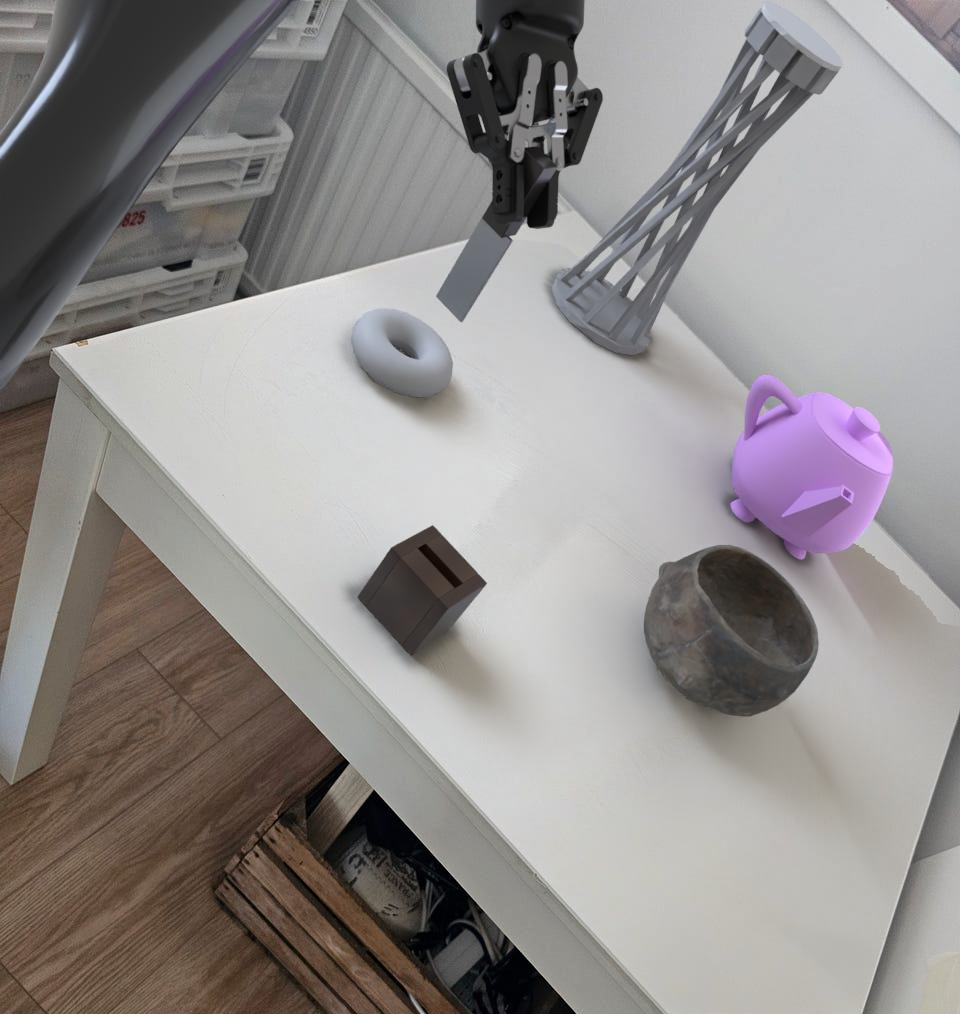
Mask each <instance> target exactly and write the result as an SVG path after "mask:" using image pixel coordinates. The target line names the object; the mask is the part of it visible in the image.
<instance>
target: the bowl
mask: <svg viewBox="0 0 960 1014" xmlns="http://www.w3.org/2000/svg"><path fill="white" fill-rule="evenodd" d="M643 634H644V640H645V643H646V647H647V648H648V649H647V650H648V652H649V655H650V657H651V659H652V661H653V663H654V665H655V667H656V669H657V670H658V672H659V673H660V674H661V676H662V677H663V678H664V679H666V681H667V682H668V683H669V684H670V685H671V686H673V688H674V689H675V690H676V691H678V693H679V694H680V695H681V696H683V697H684V698H685V699H686V700H688V701H691V702H694V703H696V704H699V705H702V706H703V707H706V708H707V709H709V710H712V711H714V712H718V713H721V714H723V715H724V714H725V715H728V716H732V717H733V716H734V717H741V718H743V717H745V718H747V717H752V716H753V717H754V716H755V715H760V714H762V713H764V712H767V711H769V710H771V709H773V708H775V707H777V706H779V705H780V704H782V703H783V702H785V701H787V699H788V698H789V697H791V695H793V694H794V693H795V692H796V690H797V689H798V688H799V687H800V686H801V685H802V683H803V681H804V680H805V679H806V677H807V676H808V674H809V673H810V671H811V669H812V668H813V665H814V663H815V661H816V659H817V656H818V652H819V632H818V628H817V625H816V622H815V619H814V617H813V614H812V612H811V610H810V609H809V607H808V606H807V604H806V602H805V601H804V599H803V598H802V596H801V595H800V593H799V592H798V591H797V590H796V588H795V587H794V586H793V585H792V584H791V583H790V582H789V581H788V580H787V579H786V577H784V576H783V575H782V574H781V573H780V572H779V571H778V570H776V568H775V567H773V566H772V565H771V564H770V563H768V562H767V561H765V559H763V558H761V557H759V556H758V555H756V554H754V552H753V553H752V552H751V551H749V550H747V549H744V548H742V547H739V546H736V545H732V544H715V545H712V546H709V547H704V548H702V549H699V550H698V551H695V552H693V553H691V554H688V555H686V556H684V557H682V558H680V559H678V560H676V561H666V562H663V563H661V565H660V566H659V568H658V579H657V580H656V581H655V583H654V585H653V586H652V588H651V591H650V594H649V596H648V599H647V602H646V605H645V610H644V615H643Z"/></svg>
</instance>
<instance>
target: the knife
mask: <svg viewBox="0 0 960 1014" xmlns="http://www.w3.org/2000/svg"><path fill="white" fill-rule="evenodd" d="M544 152H545V151H544ZM544 152H543V151H542V150H541V149H540V148H539V147H538V146H534V147H528V146H527V147H526V146H525V150H524V157H523V160H522V161H521V162H519V165H523V166H524V213H523V219H522V221H521V222H519V223H513V224H500V223H497V221H496V218H495V214H494V211H493V207H492V200H491V201H490V203H489V205H488V206H487V208H486V210H485V212H484V213H483V215H482V217H481V218H480V220H479V221H478V223H477V225H476V227H475V228H474V230H473V232H472V234H471V235H470V237H469V239H467V242H466V243H465V246H464V247H463V249H462V251H461V252H460V254H459V255H458V257H457V259H456V261H455V262H454V264H453V266H452V267H451V270H450V271H449V273H448V275H447V276H446V278H445V280H444V281H443V283H442V285H441V287H440V288H439V290H438V291H437V293H436V295H435V297H436V299H438V301H439V302H440V303H441V304H443V306H444V307H446V309H447V310H448V311H449V312H450V313H451V314H452V315H453V316H454V317H455V318H456V320H458V321H459V322H460V323H463V322H464V320H465V319H466V318H467V316H468V314H469V313H470V311H471V309H472V307H473V306H474V305H475V303H476V301H477V300H478V298H479V297H480V295H481V294H482V292H483V290H484V288H485V287H486V285H487V284H488V282H489V280H490V279H491V277H492V276H493V274H494V273H495V271H496V269H497V268H498V265H499V264H500V263H501V261H502V259H503V258H504V256H505V254H507V251H508V250H509V248H510V247H511V245H512V243H513V242H514V240H513V238H512V236H516V235H517V234H518V232H519V230H520V229H521V227H522V225H523V224H524V223H525V221H526V220H527V216H528V214H529V213H530V211H531V209H532V208H533V206H534V205H535V203H536V201H537V200H538V198H539V196H540V195H541V193H542V192H543V190H544V188H545V187H546V185H547V184H548V182H549V180H550V179H551V177H552V175H553V174H554V172H555V171H556V169H557V167H558V166H557V165H556V164H555V163H554V162H553V161H552V160H551V159H550V158H549V157H548V156H547V155H546V154H547V153H546V152H545V153H544Z"/></svg>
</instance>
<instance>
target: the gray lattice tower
mask: <svg viewBox="0 0 960 1014" xmlns="http://www.w3.org/2000/svg"><path fill="white" fill-rule="evenodd" d="M744 37H745V40H744V42H743V45H742V46H741V48H740V50H739V52H738V54H737V57H736V58H735V60H734V62H733V64H732V66H731V68H730V70H729V72H728V74H727V77H726V79H725V81H724V83H723V85H722V87H721V88H720V90H719V93H718V95H717V97H716V98H715V99H714V101H713V102H712V104H711V105H710V106H709V108H708V109H707V111H706V113H705V114H704V116H703V117H702V118H701V120H700V121H699V123H698V124H697V126H696V127H695V129H694V130H693V132H692V133H691V135H690V136H689V137H688V139H687V141H686V142H685V143H684V145H683V147H682V148H680V149H681V150H680V151H679V152H678V154H677V155H676V157H675V158H674V160H673V161H672V163H671V164H670V166H669V167H668V168H667V170H666V171H665V172H664V173H663V174H662V175H661V176H660V177H659V178H658V179H657V180H656V181H655V182H654V184H653V185H652V186H651V187H649V188H648V190H647V191H646V192H645V193H644V194H643V195H642V196H641V197H640V198H639V199H638V200H637V202H636V203H635V204H634V205H633V206H632V207H630V209H629V210H628V211H627V212H626V213H625V214H624V215H623V217H621V218H620V219H619V221H618V222H617V223H616V224H615V225H614V226H613V227H612V228H611V229H610V230H609V231H608V232H607V233H606V234H605V236H603V238H601V239H600V241H599V242H598V243H597V244H596V245H595V246H594V247H593V248H592V249H591V250H590V251H589V252H588V253H587V254H586V255H584V257H582V258H581V259H580V260H578V261H577V263H576V264H574V265H573V266H572V267H570V268H569V267H568V268H563V269H561V270H560V271H559V273H558V274H557V275H556V277H555V280H554V281H553V284H552V287H551V294H552V296H553V299H554V301H555V303H556V306H557V308H558V309H559V310H560V311H561V313H562V314H563V315H564V317H565V318H566V319H567V321H568V322H569V323H570V324H571V325H573V326H574V327H576V329H578V330H579V331H580V332H581V333H582V334H583V335H585V336H586V337H587V338H588V339H590V340H591V341H592V342H594V343H595V344H597V345H599V346H601V347H603V348H605V349H607V350H610V351H612V352H613V353H615V354H622V355H627V356H634V355H638V354H641V353H644V351H645V350H646V349H647V347H648V346H649V344H650V342H651V340H652V339H653V337H652V332H651V331H652V328H653V326H654V324H655V322H656V320H657V317H658V315H659V313H660V311H661V308H662V307H663V304H664V302H665V300H666V297H667V295H668V293H669V291H670V289H671V288H672V286H673V284H674V282H675V280H676V278H677V277H678V275H679V273H680V272H681V269H682V268H683V265H684V264H685V262H686V261H687V259H688V257H689V255H690V253H691V251H692V250H693V248H694V246H695V245H696V242H697V241H698V239H699V237H700V235H701V233H702V232H703V230H704V229H705V227H706V225H707V223H708V221H709V219H710V218H711V216H712V214H713V213H714V210H715V209H716V208H717V206H718V204H719V203H721V201H722V200H723V198H724V197H725V196H726V194H727V193H728V191H729V190H730V189H731V188H732V186H733V185H734V183H736V181H737V180H738V178H739V177H740V175H741V174H742V173H743V172H744V170H745V169H746V168H747V166H748V165H749V164H750V163H751V161H752V160H753V158H754V157H755V156H756V155H757V153H758V152H759V151H760V149H761V148H762V147H763V146H764V145H765V144H766V143H767V142H768V141H769V140H770V139H771V138H772V137H773V136H774V135H775V134H776V133H777V132H778V131H779V130H780V129H781V128H782V127H783V126H784V125H785V123H787V122H788V120H790V118H792V116H793V115H795V114H796V112H797V111H798V110H799V109H800V108H801V107H802V106H804V105H805V103H806V102H807V101H808V100H810V99H811V97H813V95H814V94H815V95H819V96H820V95H822V94H823V93H824V92H825V90H826V89H827V88H828V87H829V85H830V83H831V82H832V81H833V80H834V78H835V77H836V76H837V74H838V73H839V72H840V71H841V69H842V68H843V66H844V63H843V60H842V57H841V56H840V55H839V54H838V53H837V51H836V50H835V49H834V47H833V46H832V45H831V44H830V43H829V42H828V41H827V40H826V39H825V38H824V37H823V36H822V35H821V34H819V33H818V32H817V30H815V29H814V28H813V27H811V26H810V25H809V24H808V23H807V22H805V21H804V20H802V19H801V18H800V17H799V16H797V15H796V14H795V13H794V12H792V11H791V10H789V9H787V8H785V7H783V6H782V5H780V4H778V3H776V2H774V1H770V0H765V1H763V3H762V4H761V6H760V8H759V9H758V11H757V12H756V13H755V15H754V17H753V18H752V19H751V21H750V22H749V24H748V25H747V26H746V28H745V29H744ZM760 56H762V57H761V61H760V63H759V65H758V68H757V70H756V72H755V75H754V77H753V79H752V80H751V81H750V82H749V83H748V84H747V85H746V86H745V87H744V84H745V82H746V79H747V77H748V75H749V73H750V70H751V68H752V67H753V65H754V64H755V63H756V62H757V60H758V58H759V57H760ZM775 71H776V72H777V73H779V74H778V76H777V78H776V80H775V81H774V83H773V85H772V87H771V89H770V91H769V92H768V94H767V95H766V96H765V97H764V98H763V99H762V100H760V101H759V102H758V103H757V104H756V105H755V106H754V107H752V106H753V105H754V102H755V100H756V98H757V95H758V93H759V91H760V89H761V86H762V85H763V83H764V82H765V81H766V80H767V79H768V78H769V77H770V76H771V75H772V73H774V72H775ZM743 87H744V89H743ZM742 89H743V90H742ZM783 97H784V98H783ZM782 98H783V99H782ZM781 99H782V100H781ZM779 100H781V102H780V103H779V105H778V106H777V107H776V108H775V110H773V112H772V113H770V115H769V116H768V114H769V112H770V110H771V109H772V107H773V106H774V105H775V104H776V103H778V101H779ZM738 109H739V111H738ZM736 111H738V114H737V115H736V118H735V120H734V121H733V125H732V126H731V127H729V129H728V130H727V131H725V129H726V126H727V124H728V122H729V120H730V118H731V117H732V116H733V115H734V114H735V112H736ZM748 127H749V128H748ZM747 128H748V130H747V132H746V133H745V135H744V137H743V138H742V139H741V140H740V141H738V143H736V142H737V140H738V138H739V136H740V134H741V133H742V132H743V131H745V130H746V129H747ZM724 131H725V132H724ZM706 143H707V144H706ZM705 144H706V147H705V148H704V151H702V153H701V154H699V152H700V150H701V149H702V147H703V146H704V145H705ZM719 152H720V155H719V156H718V159H717V161H715V163H713V164H712V165H711V163H712V160H713V157H714V156H716V155H717V154H718V153H719ZM698 154H699V155H698ZM710 165H711V166H710ZM724 170H725V171H724ZM723 171H724V173H723ZM692 175H694V176H693V177H692ZM690 177H692V180H691V182H690V184H689V185H688V186H687V187H686V188H684V190H682V191H681V192H680V190H681V188H682V186H683V184H684V183H685V182H686V181H687V180H688V179H689V178H690ZM704 187H705V188H704ZM702 188H704V191H703V193H702V195H701V196H700V197H699V198H698V199H697V200H696V198H697V195H698V193H699V191H700V190H701V189H702ZM679 192H680V193H679ZM664 199H666V200H665V202H664V204H663V205H662V207H661V209H660V210H659V211H658V212H657V213H656V214H654V216H652V217H651V218H650V219H649V220H648V221H647V222H645V221H646V219H647V218H648V217H649V215H650V213H651V212H652V211H653V209H654V208H656V206H658V205H660V203H661V202H663V200H664ZM695 200H696V201H695ZM679 208H680V209H679ZM678 209H679V211H678V213H677V216H676V218H675V221H674V223H673V225H672V226H671V227H670V228H669V229H668V230H667V231H666V232H665V233H664V234H663V235H662V236H661V237H660V238H659V239H658V240H657V241H656V242H655V240H656V238H657V236H658V234H659V232H660V230H661V228H662V226H663V224H664V222H665V220H667V219H668V218H669V217H670V216H671V215H672V214H673V213H675V212H676V211H677V210H678ZM689 221H690V223H689V224H688V222H689ZM644 222H645V223H644ZM643 223H644V225H643ZM686 224H688V227H686V230H684V232H683V233H682V231H683V228H684V227H685V225H686ZM681 233H682V235H681ZM680 235H681V236H680ZM646 237H647V238H646ZM619 238H620V239H619ZM645 238H646V240H645V242H644V244H643V246H642V248H641V250H640V252H639V254H638V256H637V258H636V260H635V262H634V263H633V266H632V267H631V268H630V269H629V270H628V271H626V273H625V274H624V275H622V277H621V278H620V279H619V280H618V281H617V282H616V283H615V284H613V283H612V282H611V281H609V280H607V279H606V277H607V275H608V274H609V272H610V271H611V270H612V268H613V266H614V265H615V264H616V263H617V262H619V260H621V258H623V257H624V256H625V255H626V254H627V253H629V251H631V250H632V249H633V248H634V247H635V246H636V245H638V244H639V243H640V242H641V241H642V240H643V239H645ZM618 239H619V240H618ZM617 240H618V242H617V243H616V245H615V247H614V248H613V249H612V251H611V252H610V254H608V255H607V257H605V258H604V259H603V260H602V261H600V263H598V264H597V265H596V266H595V267H594V268H593V269H591V270H590V271H589V270H587V269H588V268H589V266H590V265H591V264H593V262H594V261H596V259H597V258H598V257H599V256H600V255H601V254H602V253H603V252H604V251H605V250H607V249H608V248H610V246H611V245H613V244H614V243H615V242H616V241H617ZM662 249H663V250H662ZM660 250H662V252H661V254H660V257H659V259H658V262H657V264H656V266H655V269H654V272H653V273H652V275H651V276H650V277H649V278H648V280H647V281H646V283H645V284H644V285H643V287H642V288H641V290H640V291H639V292H638V294H637V295H636V296H635V298H633V299H631V298H630V297H629V296H628V295H629V293H630V291H631V289H632V286H633V284H634V282H635V281H636V278H637V276H638V275H639V273H640V271H641V270H642V269H643V268H644V267H645V266H646V265H647V264H648V263H649V262H650V261H651V260H652V259H653V258H654V257H655V256H656V255H657V254H658V253H659V252H660ZM667 272H668V273H667ZM665 275H666V276H665ZM664 277H665V278H664ZM663 278H664V280H663ZM662 280H663V282H662V283H661V281H662ZM660 283H661V285H660V286H659V284H660ZM658 287H659V288H658ZM657 289H658V290H657ZM656 291H657V292H656Z"/></svg>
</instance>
